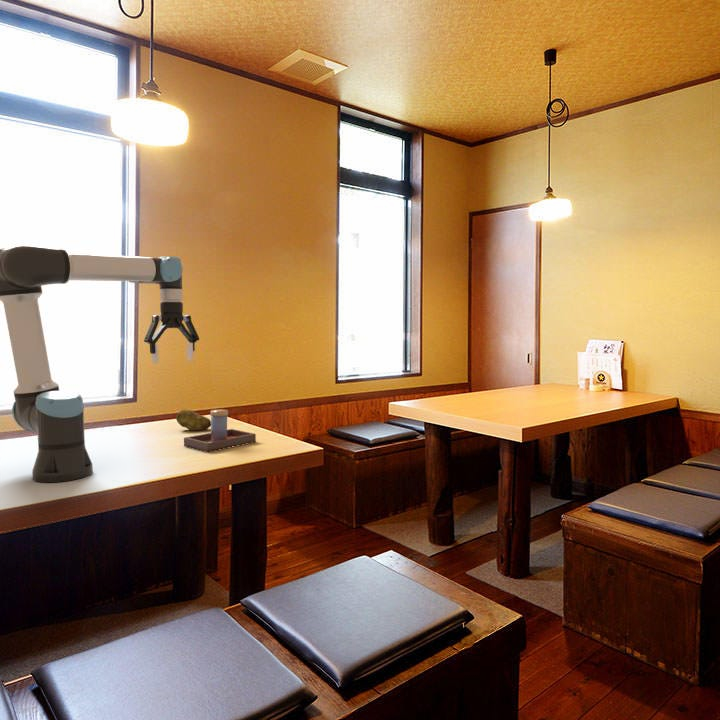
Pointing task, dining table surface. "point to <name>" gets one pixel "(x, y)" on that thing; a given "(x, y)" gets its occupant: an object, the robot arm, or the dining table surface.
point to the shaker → (218, 425)
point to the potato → (192, 420)
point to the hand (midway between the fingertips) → (173, 361)
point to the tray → (232, 439)
